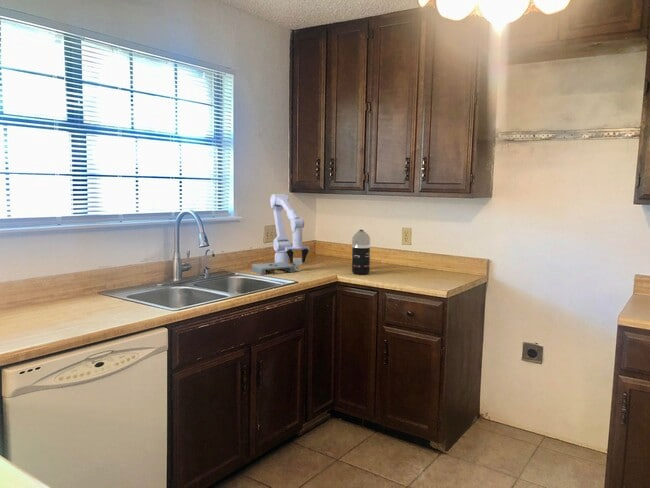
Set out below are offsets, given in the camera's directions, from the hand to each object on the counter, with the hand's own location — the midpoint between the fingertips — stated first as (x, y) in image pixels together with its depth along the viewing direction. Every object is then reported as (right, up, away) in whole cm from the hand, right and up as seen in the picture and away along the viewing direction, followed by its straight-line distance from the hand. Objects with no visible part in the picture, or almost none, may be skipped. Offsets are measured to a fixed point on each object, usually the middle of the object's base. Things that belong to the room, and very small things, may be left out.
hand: (297, 262), depth 306 cm
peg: (0, -5, +1) cm, 5 cm away
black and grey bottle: (+36, -6, -9) cm, 38 cm away
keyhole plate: (-14, -5, -3) cm, 15 cm away
